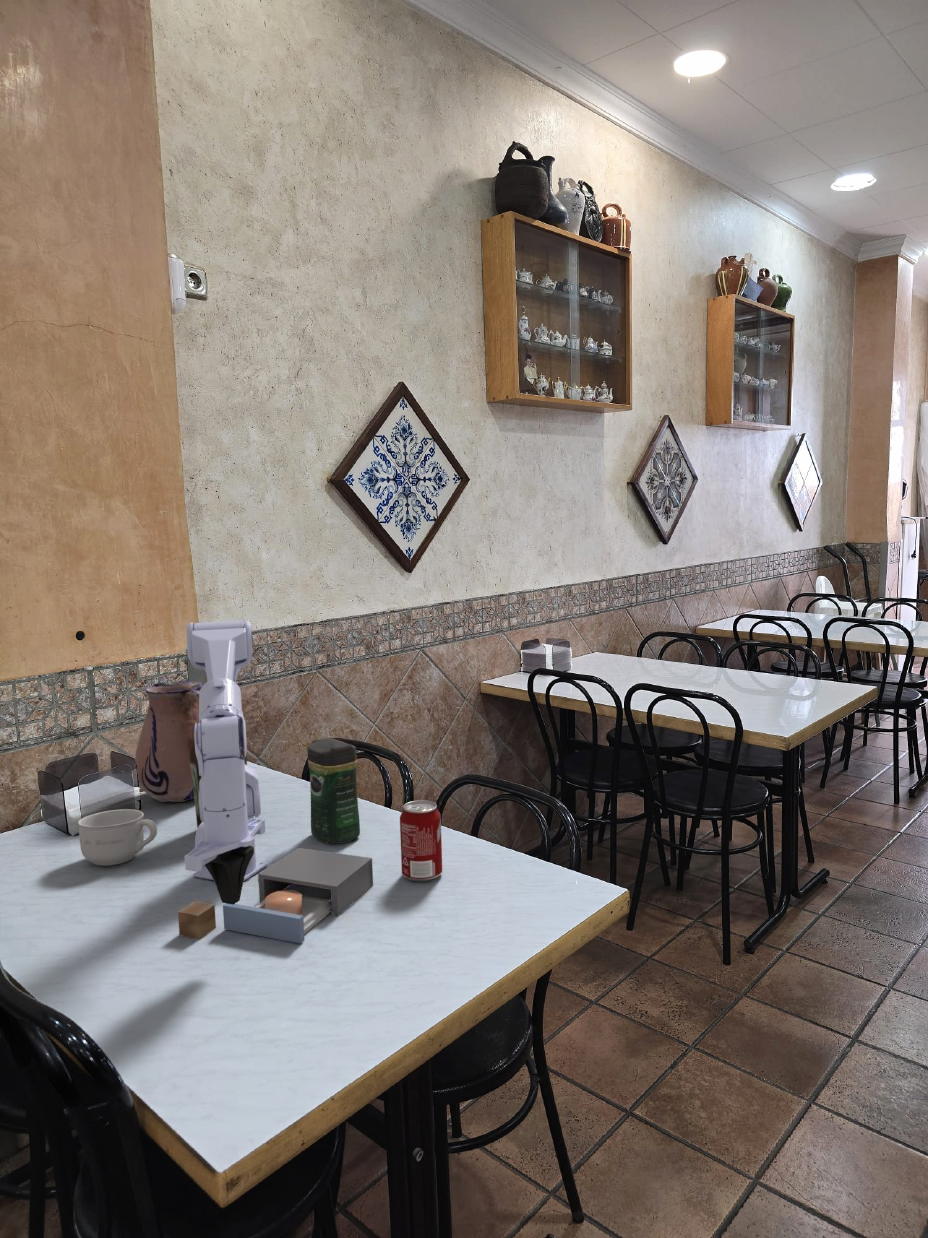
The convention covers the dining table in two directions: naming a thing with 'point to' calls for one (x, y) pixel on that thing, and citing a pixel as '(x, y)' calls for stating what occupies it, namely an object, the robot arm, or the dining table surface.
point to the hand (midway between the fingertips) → (230, 901)
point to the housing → (320, 875)
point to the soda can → (421, 841)
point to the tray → (276, 919)
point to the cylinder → (285, 902)
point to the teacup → (114, 836)
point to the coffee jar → (333, 791)
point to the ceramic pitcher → (168, 741)
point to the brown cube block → (196, 920)
